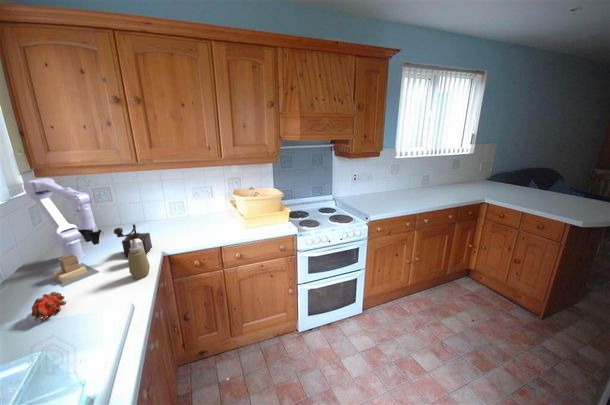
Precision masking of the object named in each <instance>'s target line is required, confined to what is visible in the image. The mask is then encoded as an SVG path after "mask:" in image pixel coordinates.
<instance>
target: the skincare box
mask: <svg viewBox="0 0 610 405" xmlns="http://www.w3.org/2000/svg"><path fill="white" fill-rule="evenodd" d="M134 240H136V242H137V244H138V245H140V246H141V247H142V250H144V247H143V243H142V241H141V240H140V239H139V238H138V239H134ZM130 244H131V247H132V240H131V241H130Z"/></svg>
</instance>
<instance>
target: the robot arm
mask: <svg viewBox="0 0 610 405" xmlns="http://www.w3.org/2000/svg"><path fill="white" fill-rule="evenodd" d="M23 190H24V192H25V193H26V194H27V196H28V197H29V199H31V200H34V202H35V203H36V204H37V206H38V207H39V208H40V209H41V211H42V213H43V214H44V215H45V217H47V219H48V220H49V222H50V223H51V224H52V226H53V227H54V228H55V230H54V231H53V232H52V237H53V238H54V241H55V243H56V244H57V245H59V246H60V249H61V252H62V256H63V257H65V256H68V255H71V254H72V255H74V256H76V257H77V259H78V260H80V259H83V258H87V257H88V254H85V253H84V251H83V247H82V244H81V241H82V238H83V239H84V240H85V242H86V243H88V242H92V245H93V246H95V245H99V244H100V235H101V232H102V230H101V229H98V226H97V224H96V222H95V218H94V215H93V211H92V208H91V203H92V201H93V198H92V196H91V195H90V194H89V193H88V192H87V191H84V192H80V191H78V190H75V189H73V188H71V187H70V186H68V187H63V186H62V185H59V184H58V183H56V182H55V180H54V179H52V178H50V177H43V178H38V179H33V180H26V181H24V183H23ZM53 193H54V194H57V195H58V196H59V197H60V199H63V200H66V201H67V202H69V203H70V205H71V206H72V207H73V209H74V211H75V212H76V216H77V219H78V223H79V224H78V226H79V227H78V226H77V225H76V224H72V223H68V221H67V220H66V219H65V217H64V216H63V215H62V213H61V212H60V211H59V209H58V208H57V207H56V205H55V204H54V203H53V201H52V200H51V198H50V197H52V195H54V194H53Z"/></svg>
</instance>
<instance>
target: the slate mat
mask: <svg viewBox="0 0 610 405" xmlns="http://www.w3.org/2000/svg"><path fill="white" fill-rule="evenodd" d="M79 264H80V265H82V266H84V267H85V268H86V269H87V273H88V274H85V275H83V276H80V277H78V278H75V279H73V280H70V281H68V282H65V283H62V282H61V281H59V280H57V279H56V278H55V277H54V273H52V274H49V275H46V278H48V279H49V280H50V281H52V282H53V283H55V284H57V285H58V286H60V287H61V288H64V287H67V286H69V285H72V284H74V283H77V282H78V281H81V280H84V279H86V278H88V277H91V276H94V275H97V274H99V273H100V271H99V270H97V269H95V268H93V267H91V266H89V265H87V264H86V263H83V262H82V263H79Z"/></svg>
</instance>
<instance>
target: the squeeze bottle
mask: <svg viewBox="0 0 610 405" xmlns="http://www.w3.org/2000/svg"><path fill="white" fill-rule="evenodd" d="M129 250H130V253H129V254H128V257H127V258H128V261H127V262H128V268H129V273H130V274H131V276H132V277H133V278H134V279H136V280H138V279H139V280H140V279H143V278H145V277H148V275H149V273H150V269H151V266H150V263H149V262H150V261H149V260H148V257H147V255H146V253H145V251H144V250H142V247H141V246H140V245H138V244H137V242H136V240H132V247H131V248H129Z"/></svg>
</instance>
